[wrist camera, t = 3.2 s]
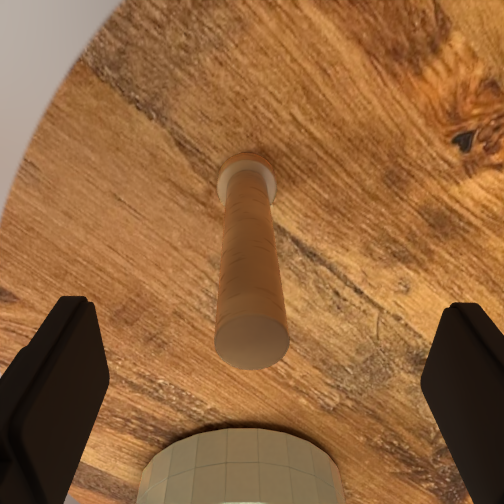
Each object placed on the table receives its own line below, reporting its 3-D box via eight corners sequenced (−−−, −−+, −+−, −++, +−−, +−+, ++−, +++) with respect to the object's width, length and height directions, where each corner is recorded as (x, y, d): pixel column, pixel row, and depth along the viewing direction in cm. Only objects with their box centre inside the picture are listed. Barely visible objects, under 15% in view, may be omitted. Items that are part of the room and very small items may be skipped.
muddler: (218, 206, 22) (197, 383, 11) (217, 151, 20) (191, 298, 10) (274, 207, 22) (303, 383, 11) (277, 152, 20) (314, 299, 10)
